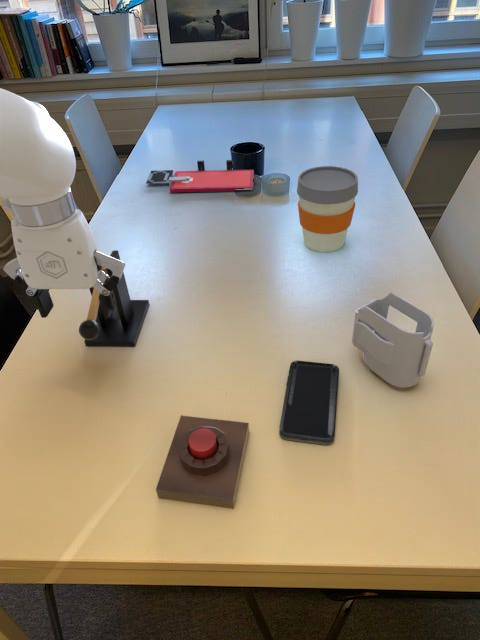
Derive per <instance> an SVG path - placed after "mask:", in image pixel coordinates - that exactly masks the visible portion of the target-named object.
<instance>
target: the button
mask: <svg viewBox="0 0 480 640" xmlns="http://www.w3.org/2000/svg"><path fill="white" fill-rule="evenodd" d="M189 447H190V452H191V454H192V455H193V456H194V457H195V458H198V459H207V458H209V457H211V456H213V455H214V454H215V452H216V450H217V442H216V436H215V434H214V433H213V432H212V431H211V430H208V429H198V430H196V431H194V432H193V433H192V434H191V435H190V437H189Z"/></svg>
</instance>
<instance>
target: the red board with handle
mask: <svg viewBox="0 0 480 640" xmlns="http://www.w3.org/2000/svg"><path fill="white" fill-rule="evenodd" d="M232 160H233V159H226V161H225V162H226V169H224V170H223V169H222V170H221V169H219V170H218V169H217V170H216V169H215V170H213V169H212V170H206V168H205V160H197V161H196V163H197V164H196V165H197V170H176V171H174V169H165V170H164V169H163V170H161V169H160V170H150V173H149V174H148V177H147V179H146V182H145V184H168V185H169V193H207V192H208V193H209V192H211V193H212V192H218V193H219V192H236V191H235V189H244V188H253V189H254V182H253V179H254V180H255V169H234V170H232V168H234V163H233V164H232ZM173 173H174V175H173Z"/></svg>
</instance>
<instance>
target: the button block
mask: <svg viewBox="0 0 480 640" xmlns="http://www.w3.org/2000/svg"><path fill="white" fill-rule="evenodd" d="M198 429H208V430H211V431H212V432H213V433H214V434H215V436H216V442H217V450H216V452H215V454H214V455H213V456H211V457H209V458H207V459H198V458H195V457H194V456H193V455H192V454H191V452H190V447H189V437H190V435H191V434H192V433H193V432H194V431H196V430H198ZM249 436H250V423H249V422H245V421H235V420H226V419H217V418H210V417H209V418H207V417H200V416H199V417H198V416H192V415H191V416H189V415H180V417H179V419H178V423H177V426H176V429H175V432H174V434H173V437H172V441H171V444H170V446H169V449H168V452H167V455H166V459H165V461H164V464H163V467H162V470H161V473H160V476H159V479H158V481H157V485H156V488H155V491H156V494H157V497H158V499H162V500H169V501H176V502H181V503H191V504H198V505H203V506H204V505H205V506H211V507H220V508H224V509H225V508H226V509H233V510H234V509H235V506H236V505H235V504H236V500H237V496H238V490H239V485H240V480H241V475H242V471H243V470H242V469H243V466H244V460H245V457H246V456H245V454H246V450H247V446H248V441H249Z"/></svg>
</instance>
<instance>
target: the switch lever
mask: <svg viewBox="0 0 480 640" xmlns="http://www.w3.org/2000/svg"><path fill="white" fill-rule="evenodd" d="M102 271H103V272H104V273H106V274H107V275H108V272H107V269H106V268H105V267H103V270H102ZM97 279H98V278H97ZM98 280H99V279H98ZM99 281H100V280H99ZM100 282H102V281H100ZM102 283H103V282H102ZM103 284H104V283H103ZM99 295H100V292H99V291H97V290H96V289H95V288H94V289H93V294H92V296H91V299H90V303H89V309H88V312H87V318H86V320H84V321H82V322H81V323H80V324H79V326H78V333H79V335H80V337H81V338H82V339H83V340H85V339H86V340H92V339H95V338H96V337H97V336H98V335H99V333H100V327H99V325H98V323H97V322H96V318H97V313H98V308H99V303H100V300H99Z"/></svg>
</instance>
